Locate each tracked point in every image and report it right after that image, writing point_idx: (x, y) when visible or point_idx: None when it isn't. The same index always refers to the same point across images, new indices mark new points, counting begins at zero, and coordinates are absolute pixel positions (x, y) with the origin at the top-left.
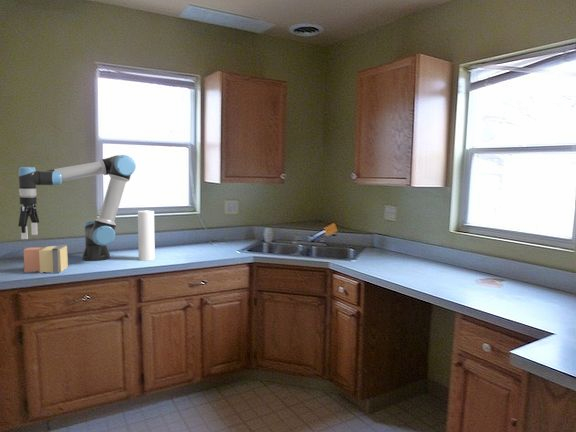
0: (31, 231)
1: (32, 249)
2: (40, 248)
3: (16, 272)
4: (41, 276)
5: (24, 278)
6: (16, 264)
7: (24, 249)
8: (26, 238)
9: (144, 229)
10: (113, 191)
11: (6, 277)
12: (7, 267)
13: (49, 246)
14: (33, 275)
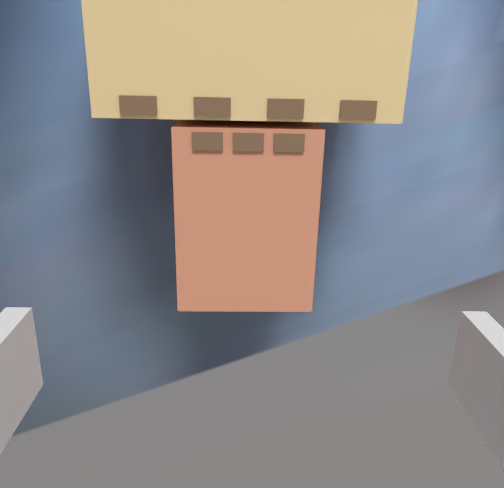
0: (16, 426)
1: (312, 224)
2: (264, 149)
3: None
4: (459, 53)
5: (486, 162)
6: None
7: (296, 307)
8: (487, 324)
9: None
10: None
11: (418, 288)
12: (115, 385)
13: (113, 77)
14: (406, 128)
